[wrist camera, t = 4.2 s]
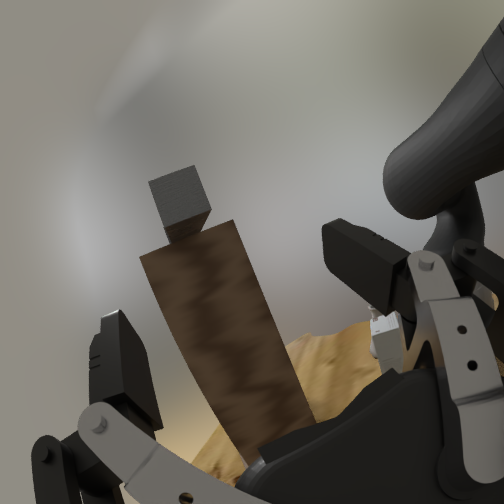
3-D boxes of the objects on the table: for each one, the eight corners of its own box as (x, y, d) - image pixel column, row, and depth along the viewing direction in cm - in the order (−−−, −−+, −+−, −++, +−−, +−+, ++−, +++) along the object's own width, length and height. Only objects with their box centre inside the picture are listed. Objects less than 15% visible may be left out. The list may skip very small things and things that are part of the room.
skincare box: (415, 393, 32) (403, 326, 31) (386, 402, 33) (371, 337, 33) (409, 371, 37) (396, 309, 37) (384, 379, 39) (369, 318, 39)
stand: (293, 403, 44) (221, 233, 43) (337, 449, 29) (244, 214, 27) (232, 432, 41) (148, 262, 40) (255, 490, 26) (128, 260, 24)
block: (197, 242, 41) (187, 218, 41) (217, 207, 17) (196, 151, 16) (173, 252, 40) (164, 228, 40) (158, 230, 16) (138, 172, 15)
